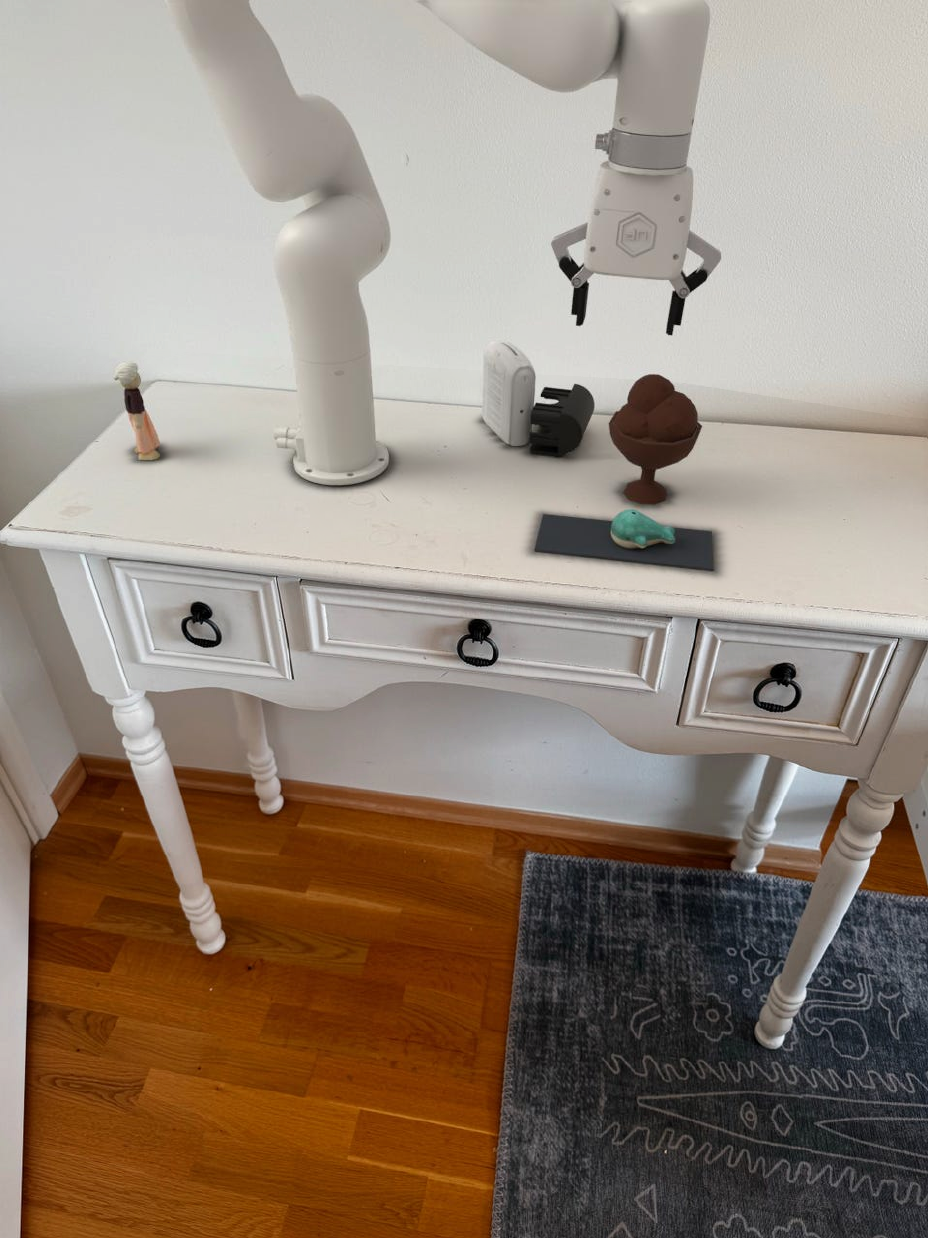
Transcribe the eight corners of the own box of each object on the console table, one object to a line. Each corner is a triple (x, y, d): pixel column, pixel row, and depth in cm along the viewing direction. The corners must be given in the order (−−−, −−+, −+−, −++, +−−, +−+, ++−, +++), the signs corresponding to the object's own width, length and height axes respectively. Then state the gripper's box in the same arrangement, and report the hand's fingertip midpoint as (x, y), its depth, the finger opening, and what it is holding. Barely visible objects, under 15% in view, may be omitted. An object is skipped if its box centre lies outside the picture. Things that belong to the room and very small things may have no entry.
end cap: (579, 462, 119) (583, 415, 114) (528, 455, 120) (530, 408, 116) (592, 430, 126) (596, 385, 122) (543, 424, 128) (546, 379, 124)
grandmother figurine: (170, 459, 119) (150, 368, 111) (142, 466, 117) (120, 374, 110) (151, 437, 124) (130, 349, 116) (124, 445, 122) (101, 355, 115)
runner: (534, 551, 101) (534, 549, 101) (543, 515, 108) (543, 513, 108) (713, 571, 98) (713, 568, 98) (711, 533, 105) (711, 531, 104)
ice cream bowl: (592, 506, 110) (604, 391, 100) (615, 466, 118) (628, 356, 109) (678, 523, 106) (698, 406, 97) (695, 481, 115) (715, 369, 105)
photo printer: (536, 443, 123) (541, 357, 115) (508, 449, 122) (511, 361, 114) (505, 414, 130) (507, 331, 123) (478, 419, 129) (479, 335, 122)
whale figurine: (611, 525, 105) (614, 497, 103) (674, 531, 104) (678, 503, 102) (608, 552, 101) (611, 523, 99) (673, 559, 100) (678, 530, 97)
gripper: (554, 151, 84) (540, 330, 95) (741, 165, 81) (705, 347, 92) (564, 137, 90) (550, 307, 100) (739, 149, 87) (706, 322, 98)
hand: (624, 326), depth 96 cm, fingers open, 9 cm apart
